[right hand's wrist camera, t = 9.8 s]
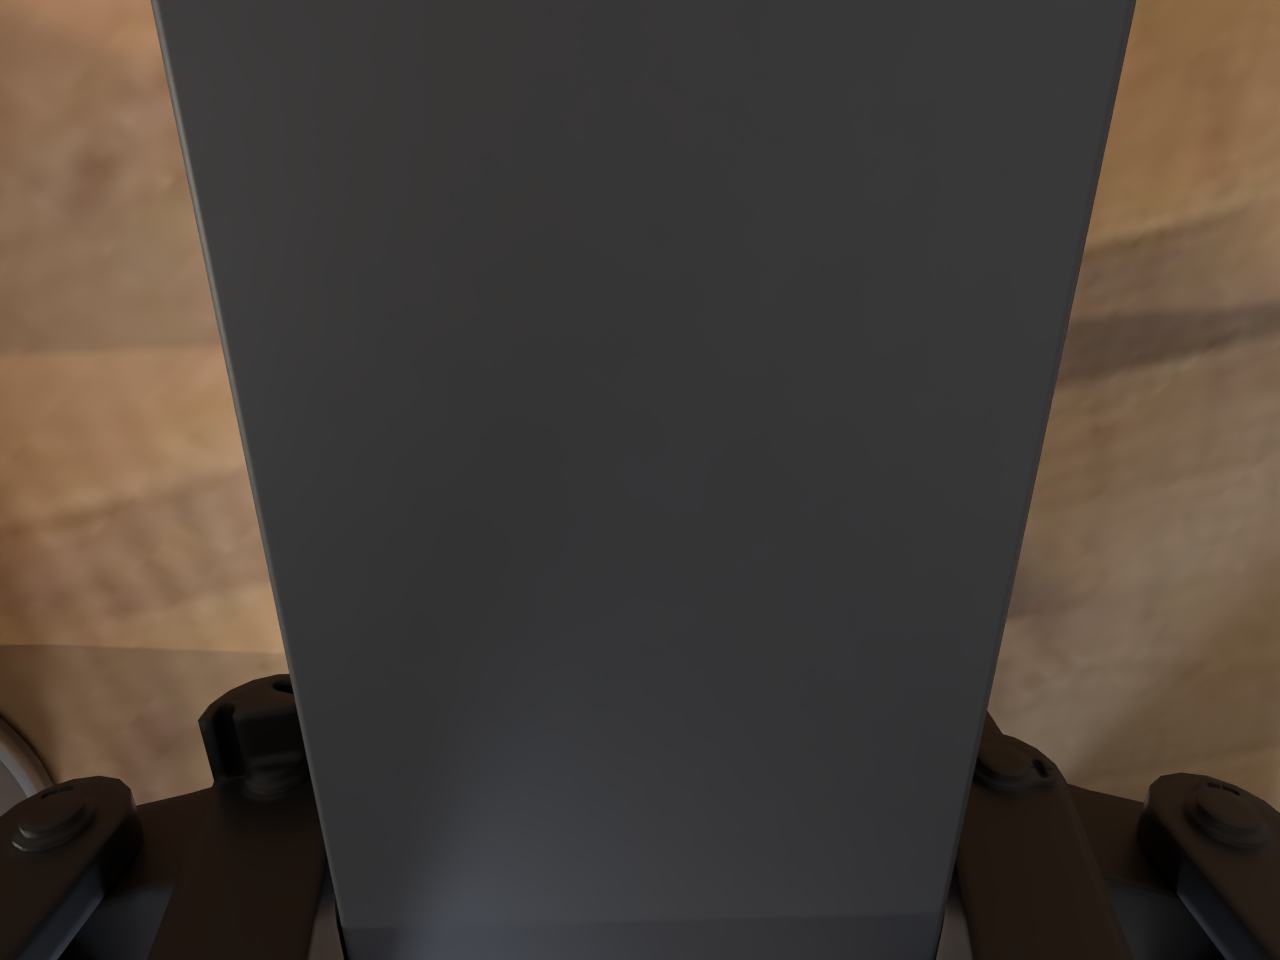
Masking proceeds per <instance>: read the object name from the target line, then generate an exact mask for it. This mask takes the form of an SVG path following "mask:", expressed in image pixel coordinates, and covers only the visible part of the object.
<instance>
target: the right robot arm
mask: <svg viewBox="0 0 1280 960" xmlns="http://www.w3.org/2000/svg"><path fill="white" fill-rule="evenodd" d="M198 723H199V726H200V730H201V734H202V738H203V741H204V745H205V749H206V752H207V756H208V760H209V763H210V767H211V771H212V775H213V778H214V784H213V786H212V787H210V788H207V789H203V790H200V791H197V792H194V793H190V794H185V795H181V796H177V797H172V798H168V799H164V800H159V801H155V802H151V803H146V804H142V805H138V806H136V805H135V801H134V798H133V795H132V792H131V789H130V788H129V787H128V786H127V785H125V784H124V783H123V782H122V781H121V780H120V779H115V778H109V777H103V776H94V777H87V778H79V779H73V780H70V781H67V782H64V783H61V784H58V785H55V786H53V784H52V782H51V780H50V778H49V776H48V774H47V772H46V770H45V769H44V767H43V766H42V764H41V762H40V761H39V759H38V758H37V756H36V755H35V754H34V753H33V751H32V750H31V749H30V747H29V746H28V745H27V744H26V743H25V742H24V740H23V739H22V738H21V737H20V736H19V735H18V734H17V733H16V732H15V731H14V730H13V729H12V728H11V727H10V726H9V725H8V724H7V723H6V722H4V721H3V720H2V719H1V718H0V960H349V959H348V954H347V950H346V945H345V940H344V935H343V930H342V925H341V921H340V916H339V911H338V906H337V901H336V896H335V891H334V887H333V882H332V877H331V872H330V867H329V862H328V858H327V853H326V848H325V843H324V838H323V833H322V828H321V824H320V819H319V814H318V809H317V804H316V799H315V794H314V790H313V785H312V780H311V775H310V770H309V765H308V761H307V756H306V751H305V746H304V741H303V736H302V731H301V727H300V722H299V717H298V712H297V707H296V702H295V697H294V693H293V688H292V683H291V678H290V674H277V675H273V676H269V677H265V678H260V679H256V680H252V681H250V682H248V683H246V684H243V685H241V686H239V687H237V688H234V689H232V690H230V691H228V692H227V693H225V694H224V695H223V696H221V697H220V698H219V699H217V700H216V701H214V702H213V703H212V704H210V705H209V707H208V708H207V709H206V711H205V712H204V713H203V715H202V716H201V717H200V718H199V720H198ZM934 960H1280V813H1279V812H1278V811H1277V810H1275V809H1274V808H1273V807H1272V806H1270V805H1269V804H1268V803H1267V802H1265V801H1264V800H1262V799H1260V798H1258V797H1256V796H1254V795H1252V794H1251V793H1249V792H1247V791H1245V790H1243V789H1241V788H1239V787H1237V786H1235V785H1232V784H1229V783H1227V782H1223V781H1220V780H1217V779H1214V778H1211V777H1208V776H1203V775H1195V774H1188V773H1176V774H1170V775H1164V776H1161V777H1159V778H1158V779H1157V780H1156V781H1155V782H1154V783H1152V784H1151V785H1150V787H1149V790H1148V793H1147V796H1146V800H1145V803H1143V802H1139V801H1134V800H1130V799H1125V798H1121V797H1117V796H1112V795H1108V794H1104V793H1099V792H1095V791H1090V790H1087V789H1083V788H1080V787H1077V786H1073V785H1070V784H1067V782H1066V780H1065V779H1064V777H1063V775H1062V774H1061V772H1060V771H1059V769H1058V768H1057V766H1056V765H1055V763H1053V762H1052V761H1051V760H1050V759H1049V758H1047V757H1046V756H1045V755H1044V754H1042V753H1041V752H1040V751H1039V750H1038V749H1036V748H1034V747H1032V746H1030V745H1028V744H1026V743H1024V742H1022V741H1020V740H1018V739H1016V738H1014V737H1011V736H1007V735H1003V734H1002V732H1001V731H1000V729H999V728H998V726H997V725H996V723H995V722H994V720H993V719H992V717H991V716H990V714H989V713H988V711H987V712H986V717H985V721H984V726H983V731H982V736H981V740H980V745H979V750H978V755H977V759H976V764H975V769H974V774H973V778H972V783H971V788H970V793H969V797H968V802H967V807H966V812H965V816H964V821H963V826H962V831H961V835H960V840H959V845H958V850H957V854H956V859H955V864H954V869H953V873H952V878H951V883H950V888H949V892H948V897H947V902H946V907H945V911H944V916H943V921H942V926H941V930H940V935H939V940H938V945H937V949H936V954H935V959H934Z"/></svg>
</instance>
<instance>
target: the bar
mask: <svg viewBox="0 0 1280 960" xmlns="http://www.w3.org/2000/svg"><path fill="white" fill-rule="evenodd" d="M151 4H152V9H153V14H154V19H155V23H156V28H157V33H158V38H159V43H160V48H161V52H162V57H163V62H164V67H165V72H166V77H167V82H168V86H169V91H170V96H171V101H172V106H173V111H174V116H175V120H176V125H177V130H178V135H179V140H180V145H181V149H182V154H183V159H184V164H185V169H186V174H187V179H188V183H189V188H190V193H191V198H192V203H193V208H194V213H195V217H196V222H197V227H198V232H199V237H200V242H201V246H202V251H203V256H204V261H205V266H206V271H207V276H208V280H209V285H210V290H211V295H212V300H213V305H214V310H215V314H216V319H217V324H218V329H219V334H220V339H221V343H222V348H223V353H224V358H225V363H226V368H227V373H228V377H229V382H230V387H231V392H232V397H233V402H234V407H235V411H236V416H237V421H238V426H239V431H240V436H241V440H242V445H243V450H244V455H245V460H246V465H247V470H248V474H249V479H250V484H251V489H252V494H253V499H254V503H255V508H256V513H257V518H258V523H259V528H260V533H261V537H262V542H263V547H264V552H265V557H266V562H267V567H268V571H269V576H270V581H271V586H272V591H273V596H274V600H275V605H276V610H277V615H278V620H279V625H280V630H281V634H282V639H283V644H284V649H285V654H286V659H287V664H288V668H289V673H290V678H291V683H292V688H293V693H294V697H295V702H296V707H297V712H298V717H299V722H300V727H301V731H302V736H303V741H304V746H305V751H306V756H307V761H308V765H309V770H310V775H311V780H312V785H313V790H314V794H315V799H316V804H317V809H318V814H319V819H320V824H321V828H322V833H323V838H324V843H325V848H326V853H327V858H328V862H329V867H330V872H331V877H332V882H333V887H334V891H335V896H336V901H337V906H338V911H339V916H340V921H341V925H342V930H343V935H344V940H345V945H346V950H347V954H348V959H349V960H934V959H935V954H936V949H937V945H938V940H939V935H940V930H941V926H942V921H943V916H944V911H945V907H946V902H947V897H948V892H949V888H950V883H951V878H952V873H953V869H954V864H955V859H956V854H957V850H958V845H959V840H960V835H961V831H962V826H963V821H964V816H965V812H966V807H967V802H968V797H969V793H970V788H971V783H972V778H973V774H974V769H975V764H976V759H977V755H978V750H979V745H980V740H981V736H982V731H983V726H984V721H985V717H986V712H987V707H988V702H989V698H990V693H991V688H992V683H993V679H994V674H995V669H996V664H997V660H998V655H999V650H1000V645H1001V641H1002V636H1003V631H1004V626H1005V622H1006V617H1007V612H1008V607H1009V603H1010V598H1011V593H1012V588H1013V584H1014V579H1015V574H1016V569H1017V565H1018V560H1019V555H1020V550H1021V546H1022V541H1023V536H1024V531H1025V527H1026V522H1027V517H1028V512H1029V508H1030V503H1031V498H1032V493H1033V489H1034V484H1035V479H1036V474H1037V470H1038V465H1039V460H1040V455H1041V451H1042V446H1043V441H1044V436H1045V432H1046V427H1047V422H1048V417H1049V413H1050V408H1051V403H1052V398H1053V394H1054V389H1055V384H1056V379H1057V375H1058V370H1059V365H1060V360H1061V356H1062V351H1063V346H1064V341H1065V337H1066V332H1067V327H1068V322H1069V318H1070V313H1071V308H1072V303H1073V299H1074V294H1075V289H1076V284H1077V280H1078V275H1079V270H1080V265H1081V261H1082V256H1083V251H1084V246H1085V242H1086V237H1087V232H1088V227H1089V223H1090V218H1091V213H1092V208H1093V204H1094V199H1095V194H1096V189H1097V185H1098V180H1099V175H1100V170H1101V166H1102V161H1103V156H1104V151H1105V147H1106V142H1107V137H1108V132H1109V128H1110V123H1111V118H1112V113H1113V109H1114V104H1115V99H1116V94H1117V90H1118V85H1119V80H1120V75H1121V71H1122V66H1123V61H1124V56H1125V52H1126V47H1127V42H1128V37H1129V33H1130V28H1131V23H1132V18H1133V14H1134V9H1135V4H1136V0H151Z"/></svg>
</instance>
